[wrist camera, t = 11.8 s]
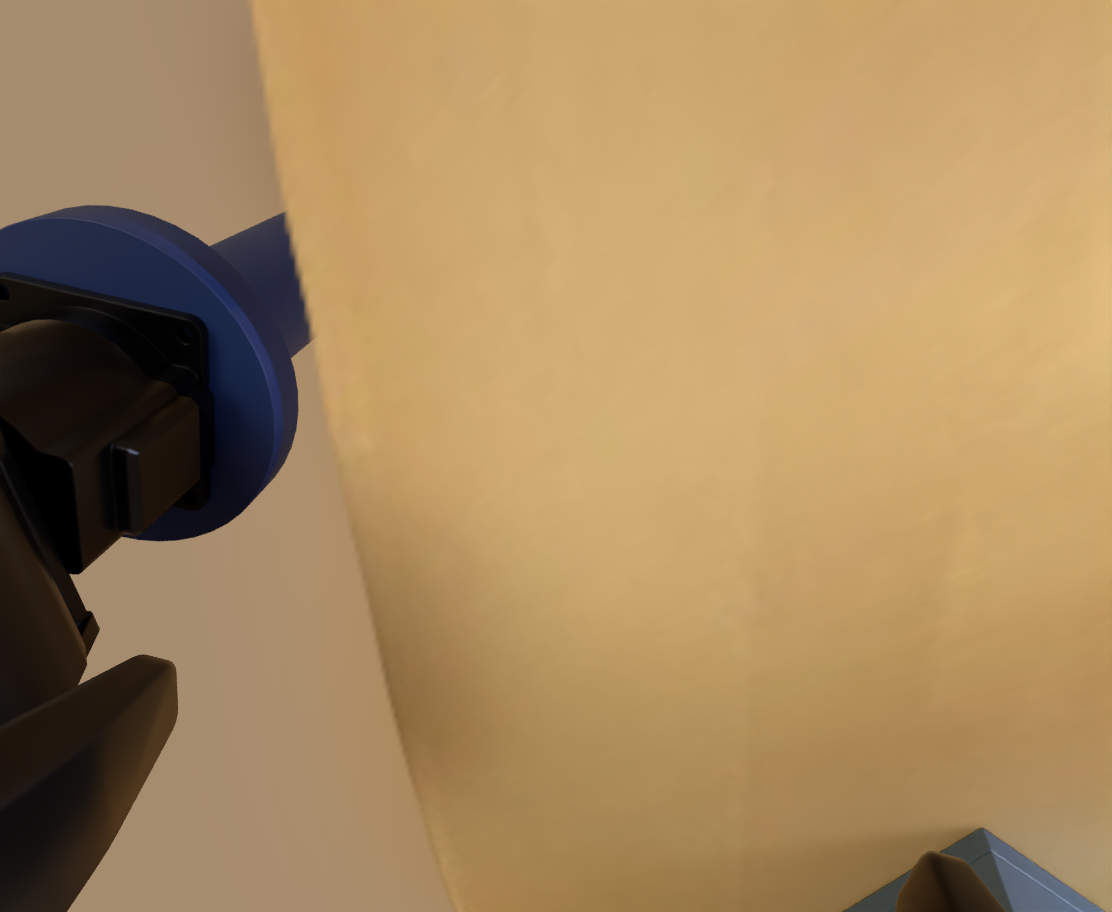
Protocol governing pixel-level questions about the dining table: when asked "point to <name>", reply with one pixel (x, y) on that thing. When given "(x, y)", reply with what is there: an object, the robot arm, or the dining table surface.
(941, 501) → the dining table surface
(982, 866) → the cooler
